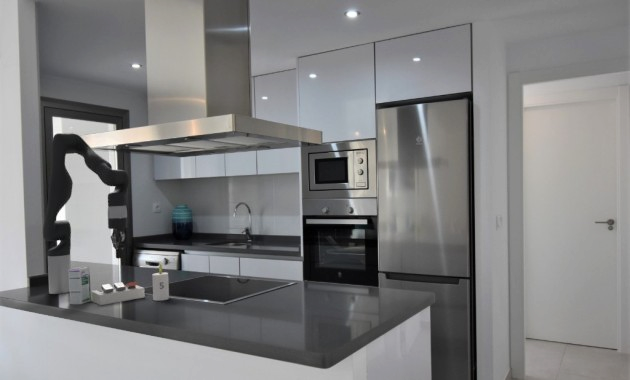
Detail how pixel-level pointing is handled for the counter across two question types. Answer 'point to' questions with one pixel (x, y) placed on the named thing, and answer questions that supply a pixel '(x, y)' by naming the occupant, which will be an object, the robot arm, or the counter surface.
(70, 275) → the syrup box
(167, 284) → the candle
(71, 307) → the counter surface
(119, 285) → the rocker
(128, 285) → the rocker
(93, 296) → the power strip
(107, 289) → the rocker
